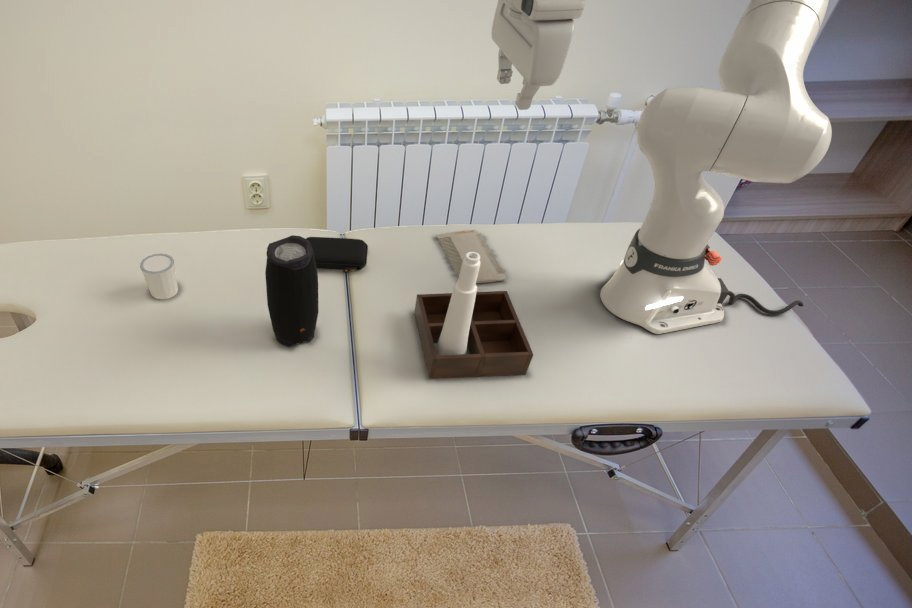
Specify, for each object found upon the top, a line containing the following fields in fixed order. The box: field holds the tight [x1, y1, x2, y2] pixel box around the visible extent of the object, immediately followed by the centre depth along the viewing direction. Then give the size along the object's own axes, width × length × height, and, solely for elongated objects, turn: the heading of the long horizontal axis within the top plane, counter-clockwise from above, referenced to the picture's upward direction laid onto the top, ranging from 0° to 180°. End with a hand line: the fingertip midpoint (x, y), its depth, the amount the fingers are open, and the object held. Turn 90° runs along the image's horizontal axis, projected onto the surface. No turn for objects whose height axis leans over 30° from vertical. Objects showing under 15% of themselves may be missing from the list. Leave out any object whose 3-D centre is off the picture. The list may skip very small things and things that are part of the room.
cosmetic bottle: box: [435, 252, 480, 356], centre depth 96 cm, size 6×6×22 cm
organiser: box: [413, 290, 534, 380], centre depth 105 cm, size 17×17×5 cm
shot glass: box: [139, 253, 179, 300], centre depth 116 cm, size 7×7×7 cm
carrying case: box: [305, 236, 369, 273], centre depth 124 cm, size 11×3×15 cm
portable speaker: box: [264, 235, 319, 348], centre depth 102 cm, size 9×9×20 cm
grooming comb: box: [436, 229, 507, 284], centre depth 124 cm, size 18×10×1 cm, turn 9°
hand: (512, 94), depth 86 cm, fingers open, 8 cm apart
